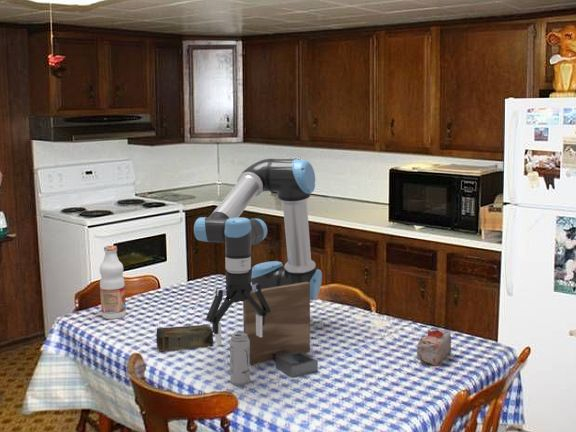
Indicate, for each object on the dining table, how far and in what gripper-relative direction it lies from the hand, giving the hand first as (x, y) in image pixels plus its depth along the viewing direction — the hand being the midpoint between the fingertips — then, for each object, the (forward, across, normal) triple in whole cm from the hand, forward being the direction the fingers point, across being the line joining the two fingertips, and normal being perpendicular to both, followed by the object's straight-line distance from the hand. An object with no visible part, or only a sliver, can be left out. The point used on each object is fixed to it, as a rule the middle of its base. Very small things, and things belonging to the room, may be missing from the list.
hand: (239, 339), depth 209 cm
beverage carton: (+14, -2, +39) cm, 42 cm away
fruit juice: (+13, -13, +85) cm, 87 cm away
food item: (+13, +64, -16) cm, 67 cm away
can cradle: (+13, +20, +3) cm, 25 cm away
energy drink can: (+14, 0, 0) cm, 14 cm away
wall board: (+13, +20, +12) cm, 27 cm away
